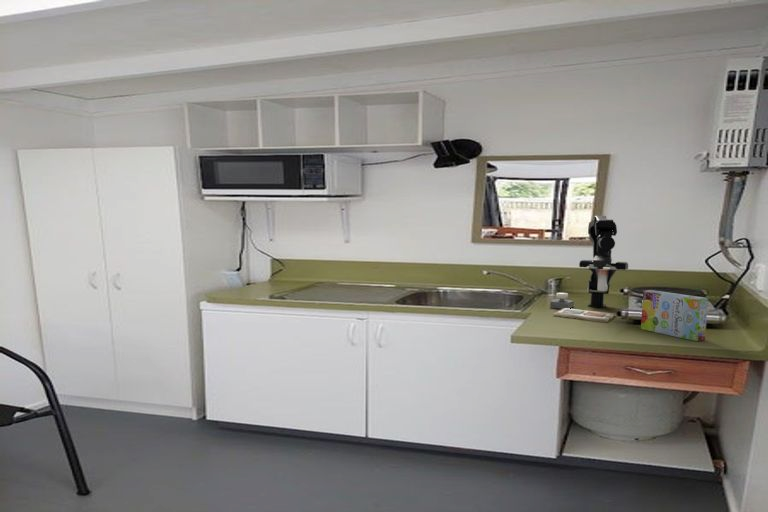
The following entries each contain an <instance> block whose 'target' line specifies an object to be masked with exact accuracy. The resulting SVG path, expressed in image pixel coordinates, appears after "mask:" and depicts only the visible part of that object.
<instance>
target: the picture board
mask: <svg viewBox="0 0 768 512" xmlns="http://www.w3.org/2000/svg"><path fill="white" fill-rule="evenodd" d="M553 315H554V316H553V317H559V316H561V317H560V318H566V317H569V318H568V319H574V318H576V320H582V319H583V321H589V320H590V321H591V322H597V323H607V322H609V321H610V320H611V319H613V318H614V317H615V316H616V313H613V312H612V313H611V312H610V313H609V312H604V311H603V312H602V311H595V310H587V309H578V308H571V309H570V308H564V309H559V310H558V311H555V312H554V313H553Z"/></svg>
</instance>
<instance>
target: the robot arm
mask: <svg viewBox="0 0 768 512" xmlns="http://www.w3.org/2000/svg"><path fill="white" fill-rule="evenodd" d="M587 226H588V229H587V234H588V235H589V240H590V241H591V243H592V259H591V260H590V259H583V260H579V265H578V267H580V268H588V269H587V270H589V271H591V274H590V276H589V280H588V282H587V287H586V288H587V294H590V303H589V304H588V305H587V306H588V307H594V308H604V307H606V304H604V303H605V295H608V294H609V293H610V283H611V281H612V278H613V277H614V274H615V273H616V272H617V271H619V270H622V271H623V270H624V271H625V270H628V269H629V263H628V262H627V261H617V262H615V263H614V262H613V263H612V261H613V259H612V250H613V249H614V248H615V245H616V241H615V239H614V238H613V236H615V237H616V236H617V234H618V229H617V227H618V226H617V224H616V222H615V221H614V219H607V216H606V215H594V216H593V219H592V220H591V221H590V222H588V225H587ZM604 268H609V269H607V270H608V280H607V285H608V290H607V291H598V290H597V288H598V269H604Z"/></svg>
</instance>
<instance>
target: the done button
mask: <svg viewBox="0 0 768 512" xmlns="http://www.w3.org/2000/svg"><path fill="white" fill-rule="evenodd" d="M568 298H569V293H567V292H556V298H555V299H560V301H561V302H564V300H568Z"/></svg>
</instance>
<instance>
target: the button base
mask: <svg viewBox="0 0 768 512" xmlns="http://www.w3.org/2000/svg"><path fill="white" fill-rule="evenodd" d="M574 302H575V300H569V299H564V302H561V301H560V299H559V298H555V299H553V300H550V305H549V307H552V308H551V309H556V308H559V309H558V310H562V309H564V308H571V309H573V308H574ZM572 307H573V308H572Z"/></svg>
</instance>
